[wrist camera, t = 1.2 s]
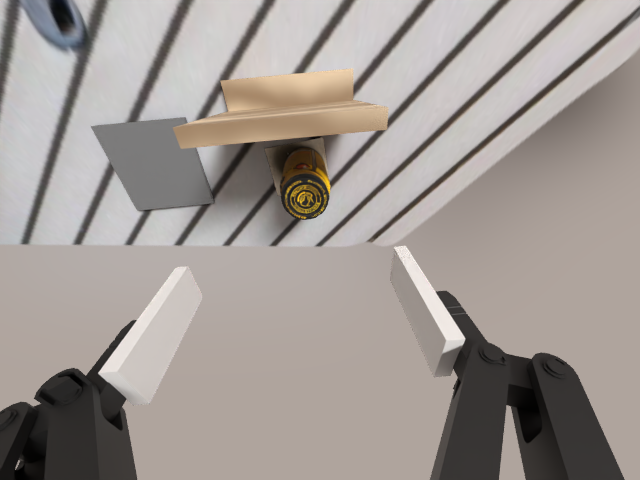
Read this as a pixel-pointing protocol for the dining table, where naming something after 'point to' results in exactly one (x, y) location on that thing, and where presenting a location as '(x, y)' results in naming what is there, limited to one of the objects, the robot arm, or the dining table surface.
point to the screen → (285, 110)
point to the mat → (155, 164)
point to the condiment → (301, 177)
